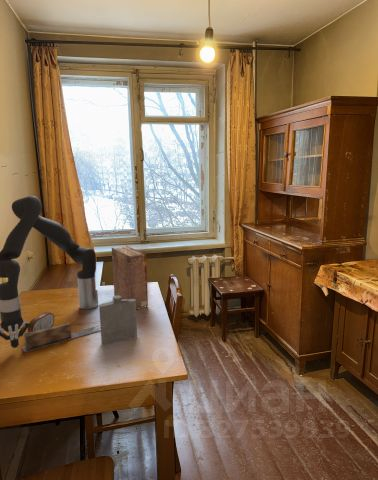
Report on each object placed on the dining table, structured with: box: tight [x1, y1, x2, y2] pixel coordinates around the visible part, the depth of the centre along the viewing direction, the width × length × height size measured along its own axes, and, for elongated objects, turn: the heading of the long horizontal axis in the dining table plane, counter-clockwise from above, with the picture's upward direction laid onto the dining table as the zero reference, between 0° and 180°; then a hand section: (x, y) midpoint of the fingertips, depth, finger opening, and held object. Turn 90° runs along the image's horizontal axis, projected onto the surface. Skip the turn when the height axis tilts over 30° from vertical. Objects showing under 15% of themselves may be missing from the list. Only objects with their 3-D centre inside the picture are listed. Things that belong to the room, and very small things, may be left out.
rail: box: [21, 324, 101, 353], centre depth 159 cm, size 36×5×1 cm, turn 125°
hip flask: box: [98, 295, 138, 345], centre depth 155 cm, size 16×4×20 cm, turn 114°
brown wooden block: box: [23, 322, 72, 350], centre depth 154 cm, size 18×4×6 cm, turn 125°
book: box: [111, 245, 149, 310], centre depth 197 cm, size 25×9×30 cm, turn 34°
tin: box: [27, 311, 55, 332], centre depth 164 cm, size 15×3×8 cm, turn 160°
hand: (15, 347), depth 147 cm, fingers closed
